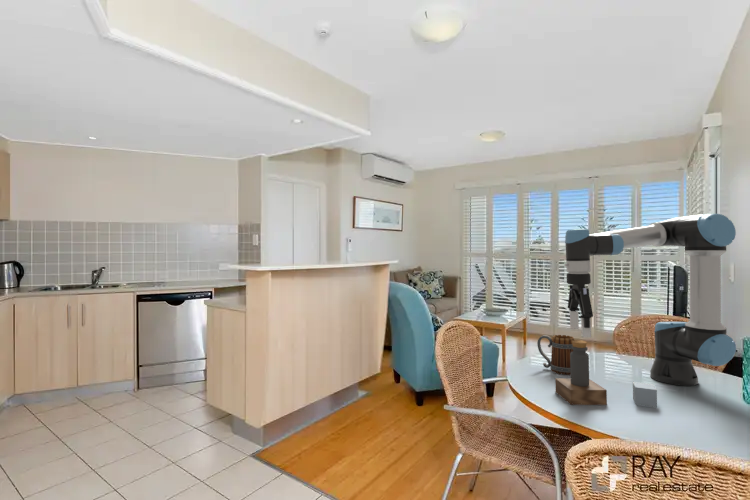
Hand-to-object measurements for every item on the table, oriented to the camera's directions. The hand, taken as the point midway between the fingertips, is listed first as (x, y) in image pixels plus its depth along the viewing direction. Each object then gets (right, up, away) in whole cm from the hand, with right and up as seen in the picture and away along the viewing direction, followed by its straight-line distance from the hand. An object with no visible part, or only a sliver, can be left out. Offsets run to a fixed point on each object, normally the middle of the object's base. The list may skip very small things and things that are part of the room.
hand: (580, 332), depth 138 cm
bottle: (0, -18, 0) cm, 18 cm away
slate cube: (+19, -23, -5) cm, 30 cm away
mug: (+6, -23, +31) cm, 39 cm away
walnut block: (0, -23, 0) cm, 23 cm away
